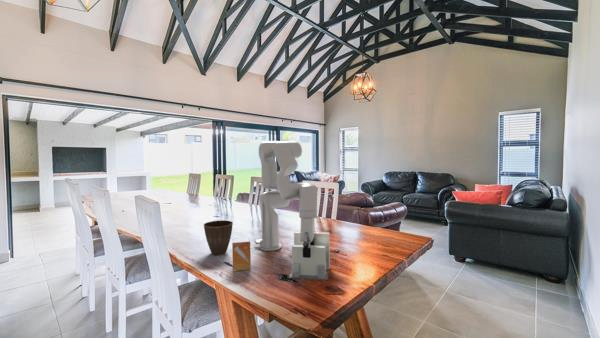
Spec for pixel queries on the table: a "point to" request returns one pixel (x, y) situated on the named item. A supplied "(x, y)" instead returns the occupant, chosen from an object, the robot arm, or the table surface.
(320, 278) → the white boxy piece
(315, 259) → the door panel
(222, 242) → the plant pot
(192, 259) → the table surface
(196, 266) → the table surface
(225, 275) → the table surface
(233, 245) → the small box
